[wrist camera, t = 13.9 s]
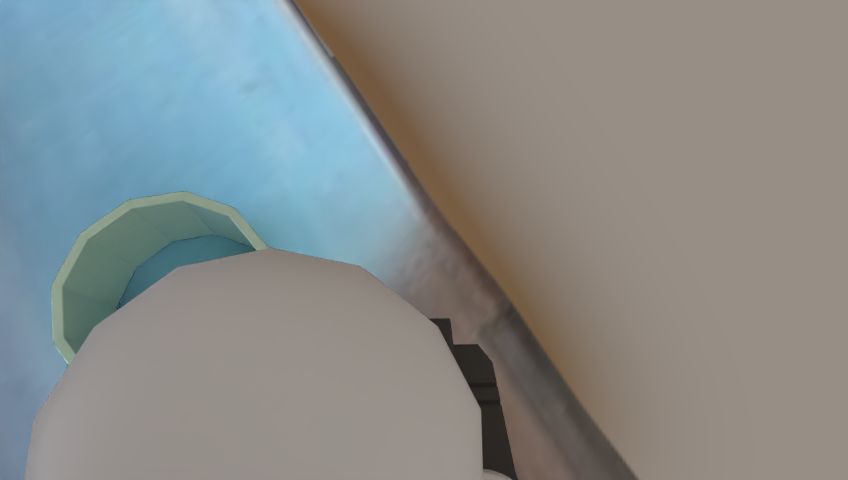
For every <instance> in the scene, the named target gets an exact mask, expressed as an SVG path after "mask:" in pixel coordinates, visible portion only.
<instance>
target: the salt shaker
mask: <svg viewBox="0 0 848 480" xmlns="http://www.w3.org/2000/svg"><path fill="white" fill-rule="evenodd" d="M24 480H483V456H482V424H481V409H480V407H479V405H478V403H477V401H476V399H475V397H474V395H473V393H472V391H471V389H470V387H469V385H468V384H467V382H466V380H465V378H464V376H463V374H462V372H461V370H460V368H459V366H458V364H457V362H456V360H455V359H454V357H453V355H452V353H451V351H450V349H449V347H448V345H447V343H446V341H445V339H444V337H443V335H442V333H441V332H440V330H439V328H438V326H437V325H435V324H434V323H433V322H432V321H430V320H429V319H428V318H427V317H425V316H424V315H423V314H421V313H420V312H419V311H418V310H416V309H415V308H414V307H413V306H411V305H410V304H409V303H408V302H406V301H405V300H404V299H403V298H401V297H400V296H399V295H398V294H396V293H395V292H394V291H393V290H391V289H390V288H389V287H388V286H386V285H385V284H384V283H382V282H381V281H380V280H379V279H377V278H376V277H375V276H374V275H372V274H371V273H370V272H369V271H367V270H365V269H364V268H362V267H361V266H357V265H352V264H347V263H342V262H337V261H333V260H328V259H323V258H318V257H313V256H308V255H303V254H298V253H293V252H288V251H283V250H278V249H273V248H267V249H262V250H257V251H252V252H248V253H243V254H238V255H233V256H228V257H224V258H219V259H214V260H209V261H204V262H200V263H195V264H190V265H185V266H180V267H176V268H175V269H174V270H172V271H171V272H169V273H168V274H167V275H165V276H164V277H163V278H161V279H160V280H158V281H157V282H156V283H154V284H153V285H151V286H150V287H149V288H147V289H146V290H145V291H143V292H142V293H140V294H139V295H138V296H136V297H135V298H134V299H132V300H131V301H129V302H128V303H127V304H125V305H124V306H122V307H121V308H120V309H118V310H117V311H116V312H114V313H113V314H111V315H110V316H109V317H107V318H106V319H104V320H103V321H102V322H100V323H99V324H98V325H96V326H95V327H94V328H93V329H92V331H91V332H90V334H89V335H88V337H87V339H86V340H85V342H84V343H83V345H82V346H81V348H80V349H79V351H78V352H77V354H76V355H75V357H74V358H73V360H72V361H71V363H70V364H69V366H68V367H67V369H66V370H65V372H64V374H63V375H62V377H61V378H60V380H59V381H58V383H57V384H56V386H55V387H54V389H53V390H52V392H51V393H50V395H49V396H48V398H47V399H46V401H45V402H44V404H43V406H42V407H41V409H40V410H39V412H38V413H37V415H36V416H35V418H34V422H33V428H32V434H31V440H30V446H29V452H28V458H27V464H26V470H25V476H24Z"/></svg>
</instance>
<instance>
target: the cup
mask: <svg viewBox="0 0 848 480" xmlns="http://www.w3.org/2000/svg"><path fill="white" fill-rule="evenodd" d="M213 234H216V235H219V236H222V237H225V238H228V239H231V240H234V241H236V242H239V243H242V244H245V245H248V246H251V247H254V249H255V250H256V251H257V250H262V249H267V248H268V247H267V245H266V244H265V243H264V242H263V241H262V239H261V238H260V237H259V236H258V235H257V233H256V232H255V231H254V230H253V229H252V227H251V226H250V225H249V224H248V223H247V221H246V220H245V219H244V218H243V217H242V216H241V214H240V213H239V212H238V211H237V210H236V209H235V208H233V207H231V206H228V205H225V204H222V203H219V202H216V201H213V200H210V199H207V198H204V197H201V196H198V195H195V194H192V193H189V192H186V191H185V192H184V191H180V192H174V193H168V194H162V195H155V196H149V197H143V198H137V199H130V200H129V201H126V202H124V203H123V204H121V205H120V206H119V207H117V208H116V209H114V210H113V211H111V212H110V213H109V214H107V215H106V216H104V217H103V218H101V219H100V220H99V221H97V222H96V223H94V224H93V225H91V226H90V227H88V228H87V229H86V230H84V231H83V232H81V233H80V235H79V236H78V237H77V239H76V241H75V243H74V245H73V247H72V248H71V250H70V252H69V254H68V256H67V258H66V259H65V261H64V263H63V265H62V267H61V269H60V270H59V272H58V274H57V276H56V278H55V280H54V281H53V283H52V286H51V298H52V341H53V342H54V343H53V344H54V345H55V347H56V348H57V350H58V351H59V352H60V354H61V355H62V357H63V358H64V359H65V361H66V362H67V364H68V365H69V364H70V363H71V361H72V360H73V358H74V357H75V355H76V354H77V352H78V351H79V349H80V348H81V346H82V345H83V343H84V342H85V340H86V339H87V337H88V335H89V334H90V332H91V331H92V329H93V328H94V327H95V326H96V325H98V324H99V323H100V322H102V321H103V320H104V319H106V318H107V317H109V316H110V315H111V314H113V313H114V312H116V311H117V309H116V307H117V305H118V303H119V301H120V299H121V297H122V295H123V293H124V291H125V289H126V287H127V285H128V283H129V282H130V280H131V278H132V276H133V274H134V272H135V270H136V268H137V267H138V266H139V265H141V264H142V263H144V262H145V261H146V260H148V259H149V258H150V257H152V256H153V255H154V254H156V253H157V252H159V251H160V250H161V249H163V248H164V247H165V246H167V245H168V244H170V243H171V242H172V241H177V240H183V239H189V238H195V237H201V236H207V235H213Z"/></svg>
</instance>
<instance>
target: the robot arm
mask: <svg viewBox="0 0 848 480" xmlns="http://www.w3.org/2000/svg"><path fill="white" fill-rule="evenodd" d="M429 320H430V321H432V322H433V323H434V324H435V325H437V326H438V328H439V330H440V332H441V333H442V335H443V337H444V339H445V341H446V343H447V345H448V347H449V349H450V351H451V353H452V355H453V357H454V359H455V360H456V362H457V364H458V366H459V368H460V370H461V372H462V374H463V376H464V378H465V380H466V382H467V384H468V385H469V387H470V389H471V391H472V393H473V395H474V397H475V399H476V401H477V403H478V405H479V407H480V409H481V424H482V456H483V480H518V479H517V476H516V473H515V469H514V464H513V459H512V455H511V450H510V445H509V440H508V435H507V431H506V426H505V421H504V416H503V411H502V407H501V405H500V397H499V392H498V387H497V383H496V378H495V373H494V368H493V363H492V361H491V360H490V359H489V358H488V356H487V355H486V354H485V353H484V351H483V350H482V349H481V348H480V347H479V345H478V344H465V345H453V339H452V330H451V322H450V318H446V319H429Z"/></svg>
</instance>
